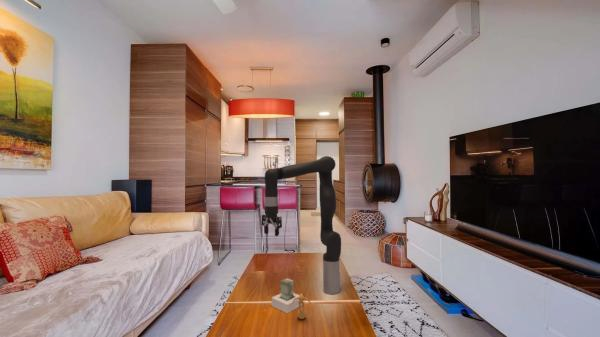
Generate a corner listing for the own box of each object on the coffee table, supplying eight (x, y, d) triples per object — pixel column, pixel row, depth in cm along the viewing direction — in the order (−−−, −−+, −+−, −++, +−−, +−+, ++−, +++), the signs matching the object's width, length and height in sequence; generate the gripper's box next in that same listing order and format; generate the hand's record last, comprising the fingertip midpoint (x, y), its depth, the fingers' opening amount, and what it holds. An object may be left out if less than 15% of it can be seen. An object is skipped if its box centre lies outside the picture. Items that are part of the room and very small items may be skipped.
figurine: (310, 316, 118) (310, 289, 118) (310, 323, 112) (310, 295, 112) (292, 316, 118) (292, 289, 118) (291, 323, 112) (291, 295, 112)
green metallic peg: (287, 302, 131) (286, 278, 131) (293, 305, 128) (293, 280, 129) (280, 305, 128) (280, 280, 128) (287, 308, 125) (287, 283, 125)
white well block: (287, 298, 136) (287, 290, 136) (302, 304, 128) (302, 296, 128) (271, 305, 127) (271, 297, 128) (287, 313, 120) (287, 304, 120)
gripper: (285, 205, 140) (285, 235, 139) (268, 203, 149) (268, 231, 149) (275, 206, 134) (275, 237, 134) (257, 204, 144) (257, 234, 143)
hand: (271, 234), depth 141 cm, fingers open, 8 cm apart
